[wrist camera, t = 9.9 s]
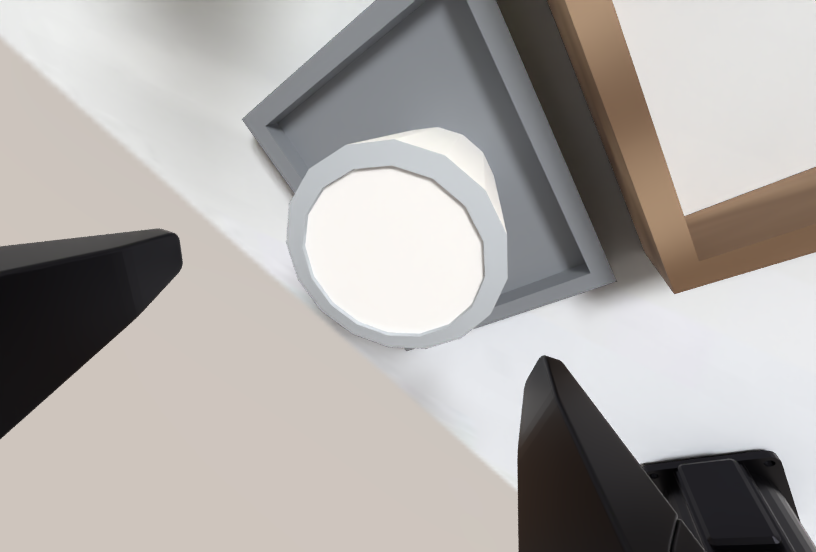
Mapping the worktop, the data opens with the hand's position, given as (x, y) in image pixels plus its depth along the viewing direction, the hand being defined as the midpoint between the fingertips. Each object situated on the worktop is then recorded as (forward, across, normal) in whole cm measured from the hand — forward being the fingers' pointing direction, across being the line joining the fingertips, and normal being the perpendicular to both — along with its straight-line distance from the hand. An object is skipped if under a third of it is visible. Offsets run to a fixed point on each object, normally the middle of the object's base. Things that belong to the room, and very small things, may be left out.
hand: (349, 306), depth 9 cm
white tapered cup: (+10, 0, 0) cm, 10 cm away
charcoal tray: (+10, 0, 0) cm, 10 cm away
